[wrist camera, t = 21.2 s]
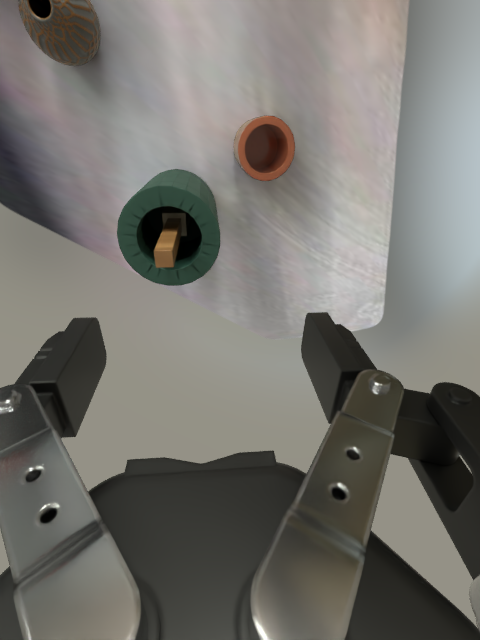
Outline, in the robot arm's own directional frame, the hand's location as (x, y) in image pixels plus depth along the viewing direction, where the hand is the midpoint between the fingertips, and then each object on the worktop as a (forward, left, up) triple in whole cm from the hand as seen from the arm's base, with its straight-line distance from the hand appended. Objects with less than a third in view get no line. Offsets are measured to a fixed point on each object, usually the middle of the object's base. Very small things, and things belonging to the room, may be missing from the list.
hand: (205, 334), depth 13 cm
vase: (-16, -14, -38) cm, 43 cm away
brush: (+3, -4, -37) cm, 37 cm away
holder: (-5, +7, -38) cm, 39 cm away
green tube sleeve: (+3, -4, -38) cm, 38 cm away
